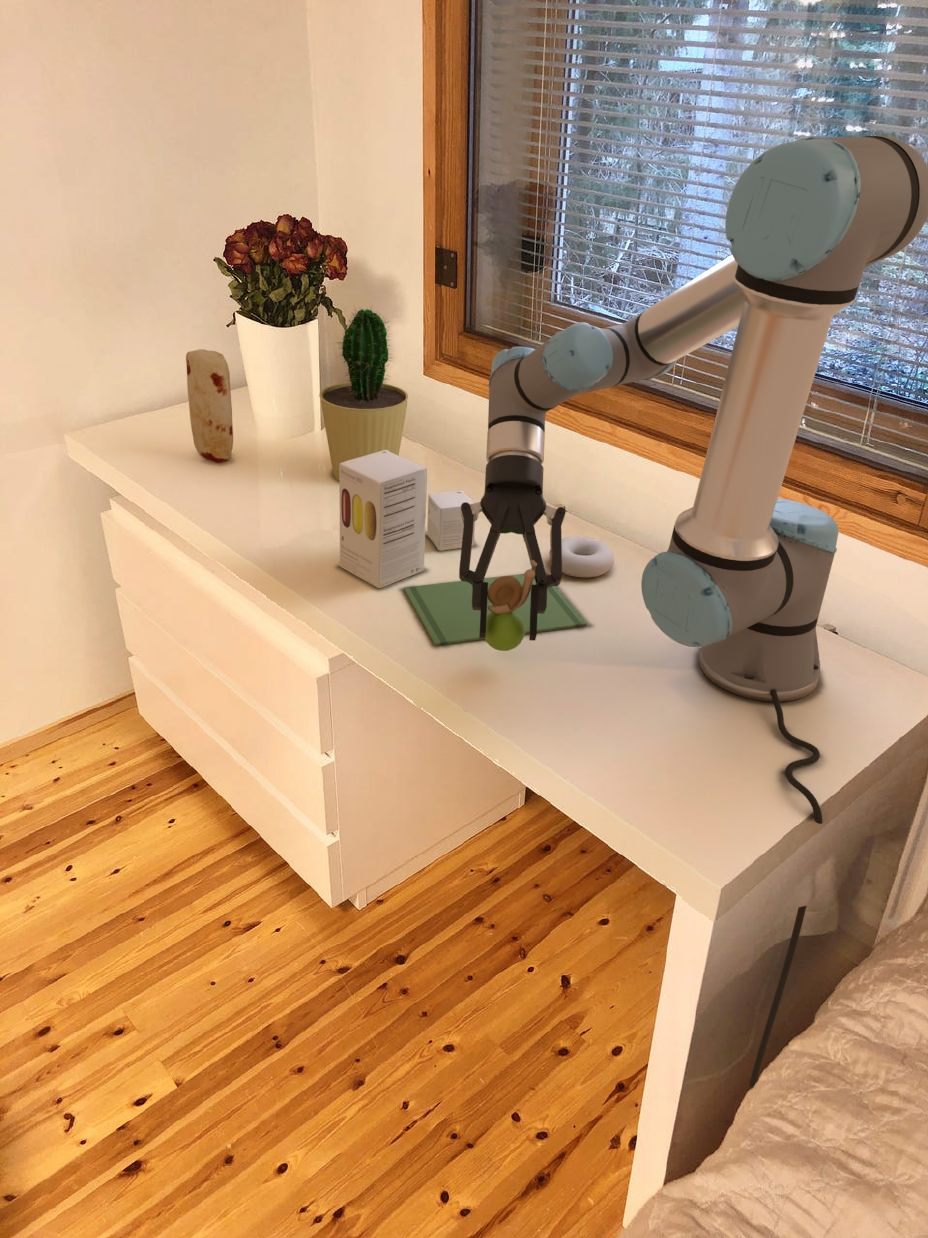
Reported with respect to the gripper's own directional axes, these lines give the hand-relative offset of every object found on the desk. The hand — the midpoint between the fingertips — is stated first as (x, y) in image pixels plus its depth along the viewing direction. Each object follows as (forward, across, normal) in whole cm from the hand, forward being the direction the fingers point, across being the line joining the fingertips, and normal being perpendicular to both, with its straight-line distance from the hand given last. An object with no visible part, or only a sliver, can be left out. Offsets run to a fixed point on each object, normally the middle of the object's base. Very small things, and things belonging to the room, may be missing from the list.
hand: (507, 636), depth 130 cm
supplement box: (-15, +19, -24) cm, 34 cm away
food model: (-44, +54, -52) cm, 87 cm away
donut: (-19, -12, -28) cm, 35 cm away
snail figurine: (0, 0, -6) cm, 6 cm away
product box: (-23, +9, -32) cm, 40 cm away
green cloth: (-9, +2, -17) cm, 19 cm away
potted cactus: (-42, +26, -50) cm, 70 cm away
